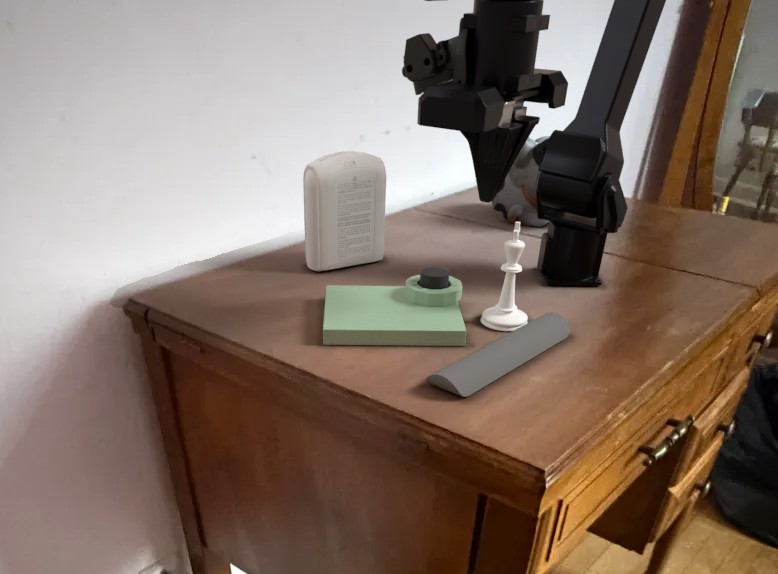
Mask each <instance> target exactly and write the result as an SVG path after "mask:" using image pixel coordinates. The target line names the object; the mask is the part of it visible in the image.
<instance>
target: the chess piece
mask: <svg viewBox="0 0 778 574" xmlns="http://www.w3.org/2000/svg"><path fill="white" fill-rule="evenodd" d="M521 228H522V227H521V224H520V222H515V224H514V229H513V231H512V239H508V240H506V241H505V242H504V250H505V256H506V261H507V262H506V263H503V264H502V265H501V267H500V270H501V271H502V272H505V276H504V281H503V284H502V288H501V293H500V296H499V300H498V303H496V304H495V305H494V306H492V307H489V308H488V307H487V308H486V309H485V310H483V312H481V317H480V323H481V324H482V325H483V326H485V327H486V328H488V329H491V330H494V331H499V332H512V331H514V330H516V329H518V328H520V327H521V326H523V325H525V324H527V323H529V322H528V320H529V317H528V314H527V313H525V312H524V311H523V310H521V309H518V306H517V305H516V304H515V303H516V302H515V299H516V298H515V297H516V291H515V290H516V274H517V273H521V272H522V271H523V266H522V265H521V264H519V260H520V259H521V256H522V254H523V252H524V250H525V247H526V243H525V242H524V241H523V240H520V239H519V237H520V236H519V235H520V232H521Z"/></svg>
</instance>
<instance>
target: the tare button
mask: <svg viewBox="0 0 778 574" xmlns="http://www.w3.org/2000/svg"><path fill="white" fill-rule="evenodd" d="M419 275H420V286H421V287H423V288H427V289H445V288H448V281H449V276H450V271H449V270H448V269H446V268H443V267H439V266H429V267H424V268H422V269H421V270H420V273H419Z"/></svg>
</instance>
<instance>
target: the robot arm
mask: <svg viewBox="0 0 778 574" xmlns="http://www.w3.org/2000/svg"><path fill="white" fill-rule="evenodd" d="M424 1H426V2H443V1H444V2H445V1H447V0H424ZM544 1H545V0H473V6H472V7H473V9H472V12H465V13H463V14H462V15H463V16H462V17H461V18H460V20H459V28H458V35H456V36H453V37H451V38H448V39H445V40H440V41H438V42H437V41H436V40H435V39H434V37H433V36H432V34H431V33H429V32H425V33H419V34H416V35H413V36H411V37H409V38H406V39H405V45H404V46H405V47H404V55H403V67H402V68H401V74H402V76H403V78H406V79H407V80H408V81H410V82H411V83H412V85H413V89H414V93H415V96H419V95H420V96H419V97H418V100H417V101H418V102H417V122H416V123H417V125H418V126H421V127H428V128H434V129H435V128H437V129H442V130H443V129H444V130H450V131H451V130H452V131H457V132H459V133H461V134H462V136H463V137H464V138H465V139H466V141H467V143H468V146H469V147H468V148H469V151H470V155H471V160H472V164H473V171H474V176H475V182H476V187H477V188H476V189H477V194H478V200H479V201H480V202H481V203H487V204H488V203H492V202H491V201H493V200H494V198H495V196H496V194H497V193H498V191H499V189H500V187H501V185H502V183H503V182H504V180H505V178H506V176H507V174H508V172H509V170H510V169H511V167H512V165H513V163H514V161H515V160H516V158H517V156H518V154H519V153H520V151H521V149H522V147H523V146H524V144H525V142H526V141H527V139H528V137H529V138H530V136H531V134H532V132H533V131H534V128H535V127H536V125H539V122H540V120H541V117H539V116H535V115H527V111H528V106H524V103H525V102H527V103H537V104H547V107H548V108H549V109H553V110H554V109H558V108H561V107H564V106H565V105H566V99H567V93H568V88H569V82H568V80H567V78H566V77H565V75H564V73H563V72H562V70H557V69H556V70H555V69H547V68H546V69H545V68H536V61H537V52H538V47H539V38H540V31H547V30H549V25H550V19H551V14H543V9H544ZM666 1H667V0H613V3H612V6H611V9H610V13H609V15H608V17H607V21H606V25H605V28H604V31H603V33H602V36H601V39H600V41H599V42H600V43H599V46H598V48H597V51H596V54H595V57H594V60H593V63H592V66H591V69H590V73H589V76H588V78H587V82H586V85H585V87H584V90H583V94H582V97H581V100H580V103H579V105H578V108H577V112H576V114H575V117H574V119H572V120H571V122H569V124H567V126H566V127H565V128H564V129H563V130H561V129H554V130H552V133H551V134H550V135H549V136H550V137H549V139H548V144H547V148H546V152H545V155H544V158H543V160H542V162H541V164H540V166H539V168H538V171H539V173H538V176H537V180H536V197H537V217H538V219H541V220H543V219H544V220H548V221H549V222H548V223H547V224H548V225H547V231H546V232H543V233H542V234H541V239H540V246H539V251H538V258H537V264H536V268H537V270H538V272H539V273H540V274H541V276H542V278H543V280H544V281H545V283H546V285H549V286H597V287H598V286H602V284H603V280H602V279H601V277H600V276H599V275H600V270H601V266H602V260H603V256H604V251H605V247H606V242H607V238H608V234H616V233H618V230H619V229H620V228H621V227H622V225H623V223H624V221H625V217H626V214H627V211H628V208H629V207H628V203H627V200H626V197H625V194H624V191H623V188H622V184H621V182H620V179H621V175H622V172H623V168H624V165H625V158H624V151H623V145H622V139H621V129H622V126H623V124H624V123H623V122H624V120H625V118H626V114H627V111H628V109H629V106H630V103H631V100H632V97H633V95H634V93H635V89H636V86H637V85H638V84H637V83H638V80H639V78H640V75H641V72H642V70H643V67H644V64H645V60H646V58H647V55H648V53H649V50H650V47H651V44H652V41H653V39H654V36H655V34H656V30H657V28H658V25H659V21H660V18H661V16H662V13H663V11H664V7H665V5H666Z"/></svg>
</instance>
